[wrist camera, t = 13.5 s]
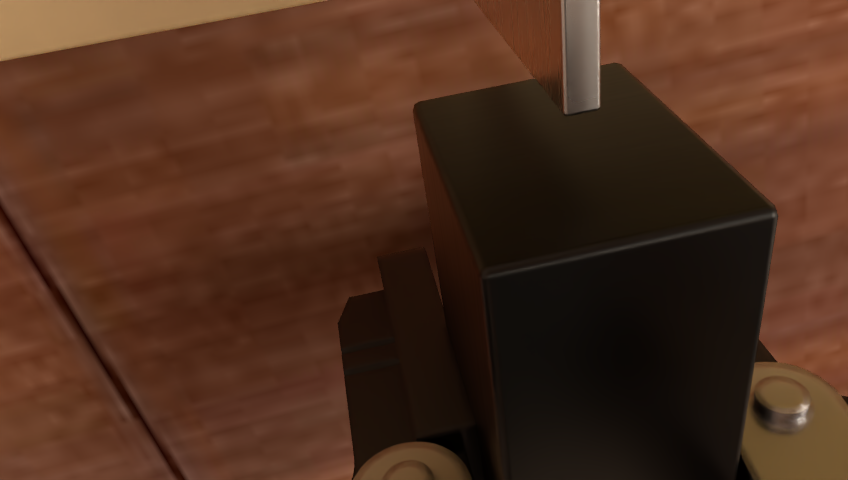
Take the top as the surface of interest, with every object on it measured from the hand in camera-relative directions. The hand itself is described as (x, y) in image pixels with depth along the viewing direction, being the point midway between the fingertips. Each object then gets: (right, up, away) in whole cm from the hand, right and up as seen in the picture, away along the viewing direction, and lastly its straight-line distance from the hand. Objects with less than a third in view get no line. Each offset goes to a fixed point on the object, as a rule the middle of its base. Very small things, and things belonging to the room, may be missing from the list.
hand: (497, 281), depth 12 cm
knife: (-1, +4, -3) cm, 5 cm away
